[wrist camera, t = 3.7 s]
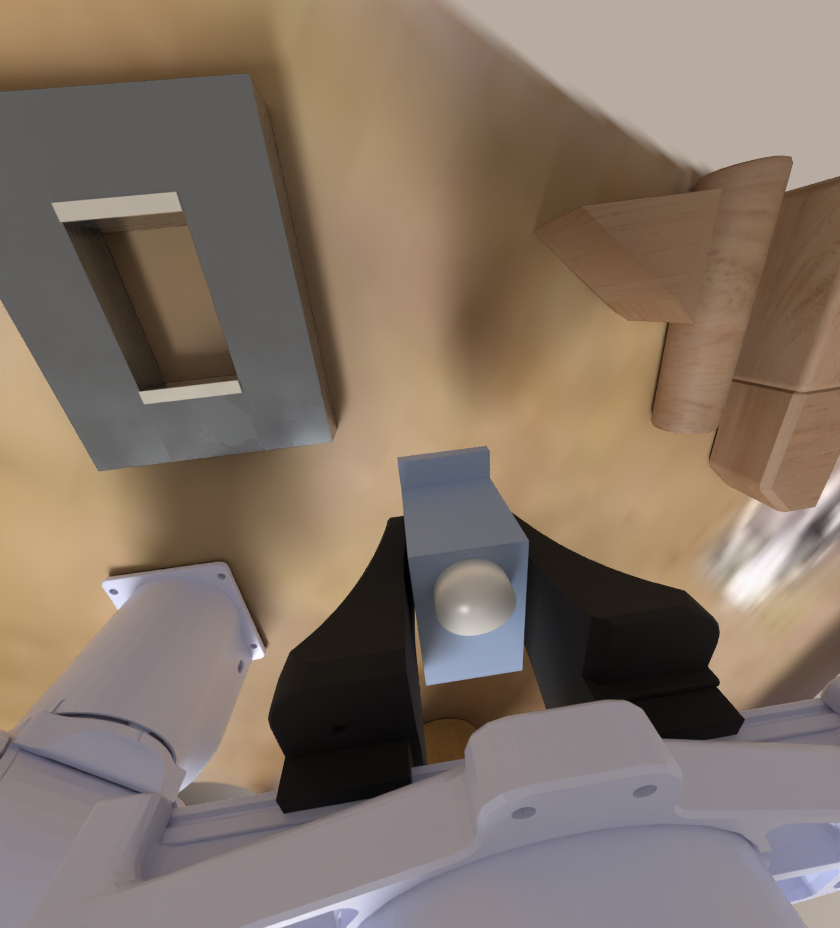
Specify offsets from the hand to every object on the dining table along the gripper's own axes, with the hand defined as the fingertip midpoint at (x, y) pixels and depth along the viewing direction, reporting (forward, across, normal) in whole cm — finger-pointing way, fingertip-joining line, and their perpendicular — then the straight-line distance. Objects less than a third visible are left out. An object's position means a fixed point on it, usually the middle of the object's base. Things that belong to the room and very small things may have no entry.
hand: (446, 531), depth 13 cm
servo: (+2, 0, 0) cm, 2 cm away
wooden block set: (+9, -15, -3) cm, 18 cm away
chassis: (+8, +11, -9) cm, 16 cm away
